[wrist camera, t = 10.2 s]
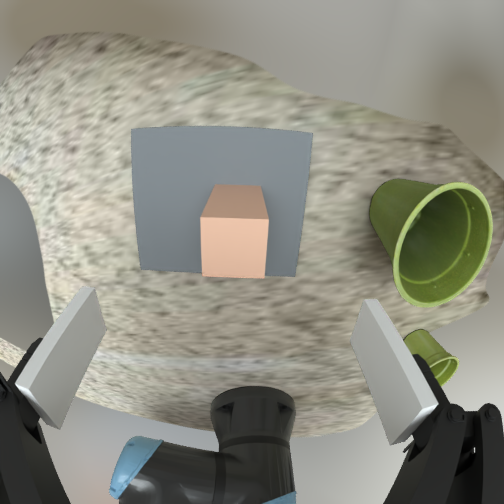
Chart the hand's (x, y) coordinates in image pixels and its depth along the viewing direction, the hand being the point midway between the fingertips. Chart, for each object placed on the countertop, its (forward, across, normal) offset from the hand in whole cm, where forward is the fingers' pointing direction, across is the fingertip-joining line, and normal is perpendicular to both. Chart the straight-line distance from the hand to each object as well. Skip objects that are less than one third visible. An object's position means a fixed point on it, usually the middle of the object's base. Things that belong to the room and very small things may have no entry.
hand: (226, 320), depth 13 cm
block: (+17, 0, 0) cm, 17 cm away
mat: (+18, +2, 0) cm, 18 cm away
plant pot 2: (+18, -30, +21) cm, 41 cm away
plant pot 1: (+18, -18, -1) cm, 26 cm away
